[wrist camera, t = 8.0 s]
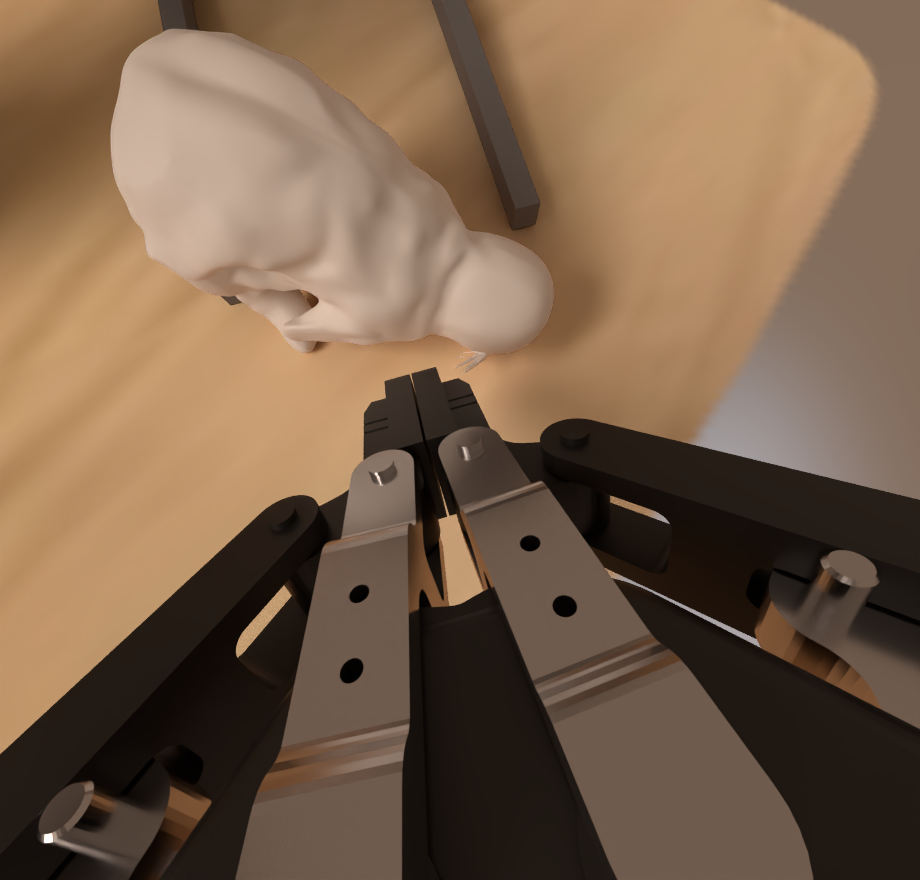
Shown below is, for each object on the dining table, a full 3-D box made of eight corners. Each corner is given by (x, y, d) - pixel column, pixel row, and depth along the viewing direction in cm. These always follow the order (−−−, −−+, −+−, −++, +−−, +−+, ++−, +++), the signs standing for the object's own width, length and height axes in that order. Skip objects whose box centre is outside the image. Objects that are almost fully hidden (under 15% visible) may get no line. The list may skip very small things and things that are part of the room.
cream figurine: (132, -85, 9) (649, 86, 9) (274, 200, 17) (544, 284, 18) (-4, 154, 8) (588, 336, 8) (218, 335, 16) (507, 421, 17)
